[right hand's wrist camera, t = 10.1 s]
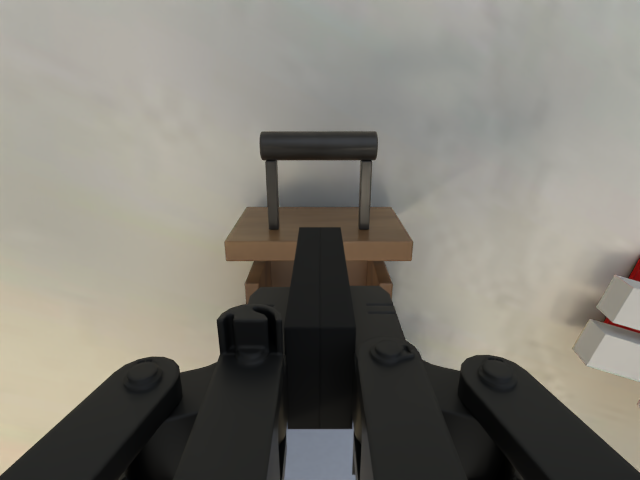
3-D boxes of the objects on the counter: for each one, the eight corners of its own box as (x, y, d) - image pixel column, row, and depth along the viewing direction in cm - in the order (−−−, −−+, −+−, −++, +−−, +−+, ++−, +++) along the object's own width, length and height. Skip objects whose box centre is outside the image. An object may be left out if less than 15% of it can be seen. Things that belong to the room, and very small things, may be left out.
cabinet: (248, 315, 32) (223, 394, 24) (389, 315, 32) (414, 394, 24) (261, 491, 39) (245, 600, 31) (377, 491, 39) (393, 600, 31)
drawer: (240, 124, 26) (214, 135, 20) (396, 125, 26) (422, 135, 20) (260, 413, 34) (246, 488, 28) (378, 413, 34) (392, 488, 28)
